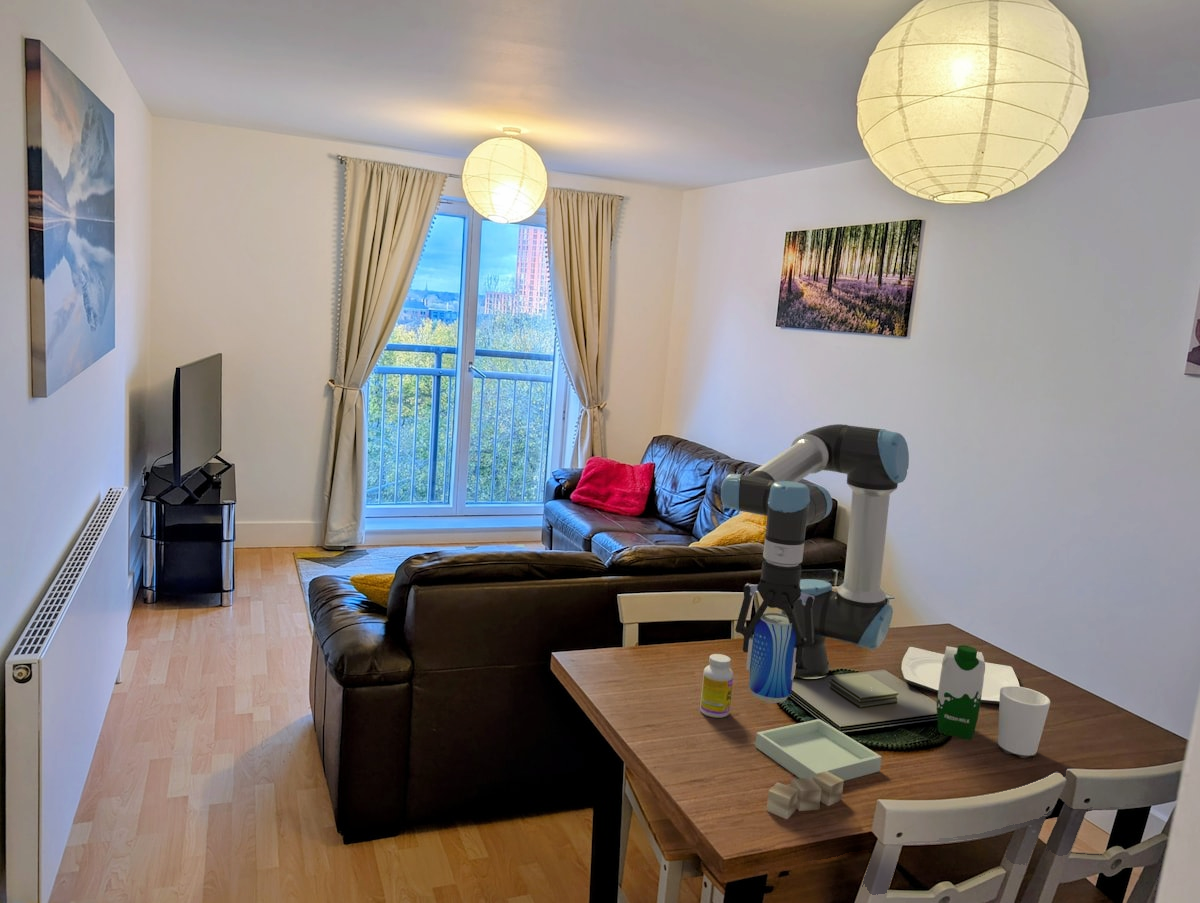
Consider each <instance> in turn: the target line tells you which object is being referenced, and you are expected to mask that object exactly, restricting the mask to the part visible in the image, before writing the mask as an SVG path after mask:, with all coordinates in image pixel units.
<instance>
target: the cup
mask: <svg viewBox="0 0 1200 903" xmlns="http://www.w3.org/2000/svg"><path fill="white" fill-rule="evenodd" d="M998 705H999V708H998V730H997V733H998V734H997V745H998V747H999V748H1001V749H1002V751H1003V752H1004V753H1005V754H1007V755H1011V754H1014V755H1016V756H1018V757H1019V758H1021V759H1027V758H1028V757H1036V754H1037V751H1038V748H1039V745H1040V742H1041V738H1042V733H1043V731H1044V727H1045V723H1046V720H1047V717H1048V713H1049V710H1050V706H1051V700H1050V698H1049V696H1046V695H1045V694H1043V693H1042V692H1039V691H1037V690H1034V689H1031V688H1027V687H1024V686H1020V687H1018V686H1005V687H1002V688H1001V689H1000V703H999V704H998Z"/></svg>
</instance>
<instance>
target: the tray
mask: <svg viewBox="0 0 1200 903" xmlns="http://www.w3.org/2000/svg"><path fill="white" fill-rule="evenodd" d="M755 735H756V736H755V743H754V747H755V748H756V749H758V750H759V751H760V752H762V753H763V754H765V755H766V756H768V757H769V758H771V759H772V760H773V761H774V762H776V763H778V764H779V765H780V766H782V767H783V768H785V769H786V770H787V771H788V772H790V773H791V774H793V775H794V776H796V777H797V778H798V779H801V778H812V780H813V776H815V775H818V774H820V773H822V772H824V771H827V772H829V773H831V774H833V775H835V776H837V777H839V778H841V779H842V780H844V782H845V781H846V782H847V781H849V780H853V779H856V778H860V777H864V776H868V775H871V774H874V773H877V772H880V771H881V768H882V767H881V766H882V759H883V756H881V755H880V754H878V753H877V752H875V751H873V750H871V749H870V748H868V747H867V746H865V745H863V744H862V743H859V742H858V741H856V740H855V739H853V737H850V736H848V735H846V734H845V733H843V732H841V730H838V728H835V727H833V726H832V725H830V724H828V723H827V722H825V721H823V720H822V719H820V718H817V719H812V720H808V721H804V722H798V723H794V724H790V725H786V726H785V725H784V726H781V727H775V728H771V729H767V730H763V731H757V732H756V733H755Z"/></svg>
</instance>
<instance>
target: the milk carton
mask: <svg viewBox="0 0 1200 903" xmlns="http://www.w3.org/2000/svg"><path fill="white" fill-rule="evenodd" d="M943 654H944V658H943V661H942V669H941V675H940V682H939V689H938V693H937V697H936V718H937V722H938V723H937V732H941V733H945V734H948V735H947V736H949V737H950V736H951V737H955V738H960V739H965V740H969V741H973V737H974V735H975V730H976V728H977V724H978V719H979V714H980V708H981V703H982V702H981V695H982V689H983V681H984V673H985V662H986V661H985V656H984V655H983V652H982V651H978V649H976V648H975V647H973V646H970V645H969V646H968V645H957V647H954V646H947V645H946V646H945V652H944V653H943ZM945 734H944V735H945Z"/></svg>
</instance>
